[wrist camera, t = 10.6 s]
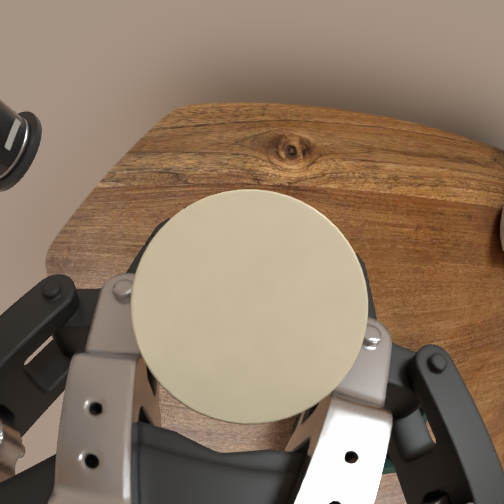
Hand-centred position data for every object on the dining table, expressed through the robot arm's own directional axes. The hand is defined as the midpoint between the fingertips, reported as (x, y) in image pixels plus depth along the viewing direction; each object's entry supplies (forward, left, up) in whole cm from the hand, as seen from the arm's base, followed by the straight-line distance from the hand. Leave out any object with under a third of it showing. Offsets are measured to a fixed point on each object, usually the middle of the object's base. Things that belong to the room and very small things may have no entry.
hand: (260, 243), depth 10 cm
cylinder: (0, -2, -5) cm, 5 cm away
